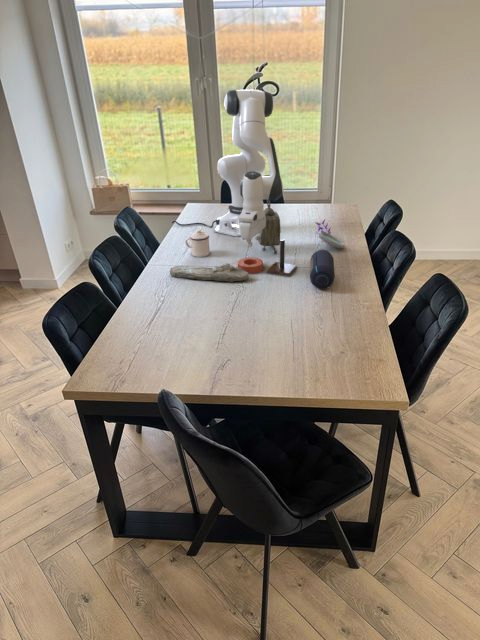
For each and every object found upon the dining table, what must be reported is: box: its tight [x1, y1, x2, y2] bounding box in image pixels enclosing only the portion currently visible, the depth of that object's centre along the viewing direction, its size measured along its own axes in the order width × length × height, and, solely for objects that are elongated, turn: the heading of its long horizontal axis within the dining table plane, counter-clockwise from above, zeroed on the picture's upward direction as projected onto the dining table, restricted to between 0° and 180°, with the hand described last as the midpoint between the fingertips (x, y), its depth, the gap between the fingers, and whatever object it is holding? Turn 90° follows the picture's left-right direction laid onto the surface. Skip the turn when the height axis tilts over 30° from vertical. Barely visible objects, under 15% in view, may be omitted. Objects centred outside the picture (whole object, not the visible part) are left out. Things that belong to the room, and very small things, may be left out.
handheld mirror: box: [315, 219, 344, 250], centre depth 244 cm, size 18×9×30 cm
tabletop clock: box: [258, 199, 281, 255], centre depth 230 cm, size 14×9×25 cm, turn 9°
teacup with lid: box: [184, 229, 211, 258], centre depth 231 cm, size 12×9×12 cm
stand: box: [267, 238, 297, 277], centre depth 212 cm, size 10×10×14 cm
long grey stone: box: [169, 262, 250, 283], centre depth 209 cm, size 35×5×10 cm
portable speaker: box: [309, 248, 336, 290], centre depth 204 cm, size 25×10×10 cm, turn 175°
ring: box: [236, 256, 264, 275], centre depth 217 cm, size 11×11×3 cm
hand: (254, 243), depth 215 cm, fingers open, 8 cm apart
